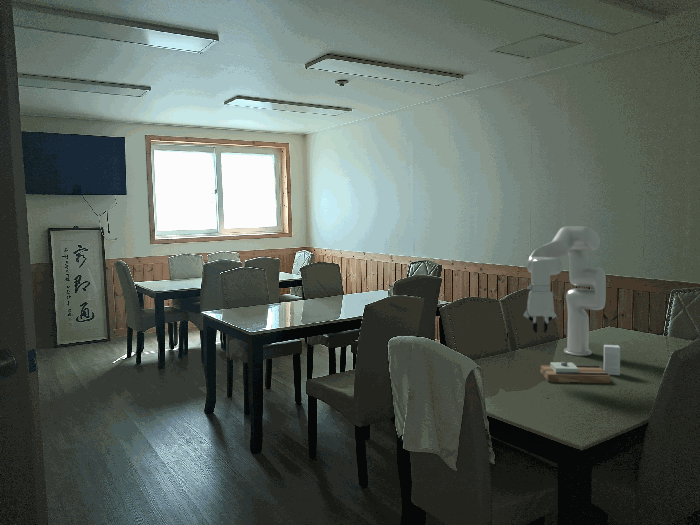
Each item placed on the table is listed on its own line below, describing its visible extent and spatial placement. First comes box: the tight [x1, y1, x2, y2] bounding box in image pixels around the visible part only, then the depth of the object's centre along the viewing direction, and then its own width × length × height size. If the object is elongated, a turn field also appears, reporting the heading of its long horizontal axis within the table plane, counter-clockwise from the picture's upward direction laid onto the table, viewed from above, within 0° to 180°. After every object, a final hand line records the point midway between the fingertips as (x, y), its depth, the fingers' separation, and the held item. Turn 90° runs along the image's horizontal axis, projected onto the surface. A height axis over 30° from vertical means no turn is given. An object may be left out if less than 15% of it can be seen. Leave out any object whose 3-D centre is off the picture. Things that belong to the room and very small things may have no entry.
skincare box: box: [602, 344, 621, 376], centre depth 226 cm, size 6×4×12 cm
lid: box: [549, 361, 579, 373], centre depth 222 cm, size 9×9×3 cm
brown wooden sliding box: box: [539, 364, 612, 384], centre depth 222 cm, size 14×24×4 cm, turn 83°
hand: (539, 331), depth 222 cm, fingers open, 3 cm apart
